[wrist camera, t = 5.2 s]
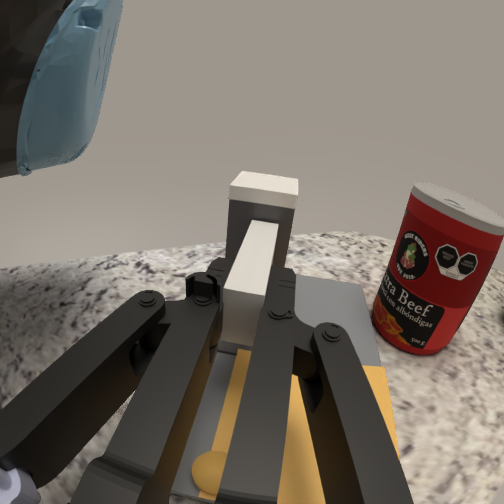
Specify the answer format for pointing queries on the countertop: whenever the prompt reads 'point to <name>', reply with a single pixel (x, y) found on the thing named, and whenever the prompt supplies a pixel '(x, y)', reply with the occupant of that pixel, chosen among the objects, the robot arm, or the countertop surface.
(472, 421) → the countertop surface
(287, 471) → the panel
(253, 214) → the toggle
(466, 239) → the canned food
